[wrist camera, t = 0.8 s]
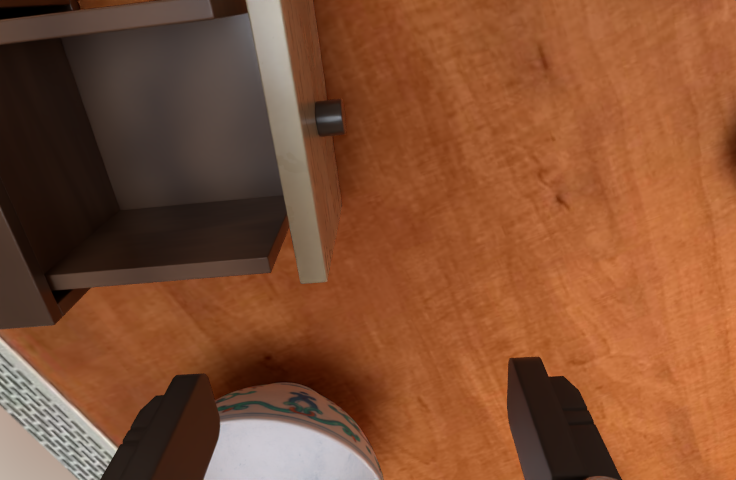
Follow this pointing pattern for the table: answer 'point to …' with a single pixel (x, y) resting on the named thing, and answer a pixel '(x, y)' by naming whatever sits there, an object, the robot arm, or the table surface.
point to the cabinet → (8, 239)
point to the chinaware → (288, 437)
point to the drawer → (170, 140)
